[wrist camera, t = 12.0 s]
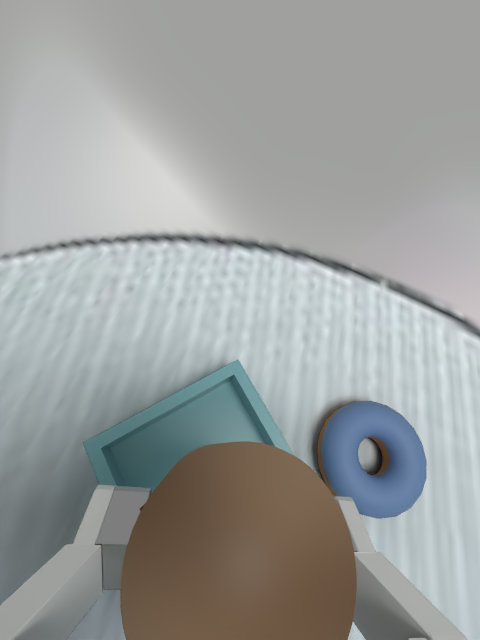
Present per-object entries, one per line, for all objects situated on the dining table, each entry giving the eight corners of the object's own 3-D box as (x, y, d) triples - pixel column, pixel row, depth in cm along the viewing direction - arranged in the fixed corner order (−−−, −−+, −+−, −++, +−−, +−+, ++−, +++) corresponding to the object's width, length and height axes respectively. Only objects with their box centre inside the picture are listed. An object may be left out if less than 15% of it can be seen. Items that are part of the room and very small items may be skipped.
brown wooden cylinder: (239, 587, 12) (311, 792, 5) (138, 534, 13) (65, 656, 5) (282, 472, 14) (381, 500, 7) (192, 426, 14) (195, 404, 7)
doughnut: (430, 454, 32) (460, 454, 28) (374, 540, 29) (399, 554, 25) (350, 385, 34) (367, 375, 30) (290, 457, 31) (300, 457, 27)
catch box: (166, 610, 25) (162, 639, 21) (96, 443, 28) (82, 443, 25) (308, 502, 29) (326, 510, 25) (232, 369, 32) (238, 359, 29)
